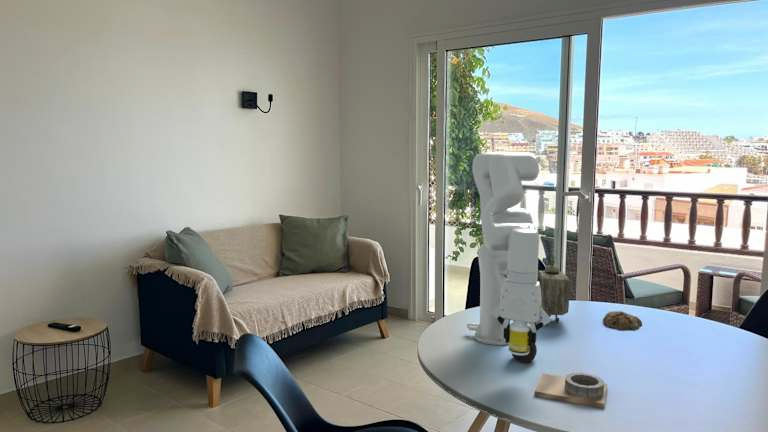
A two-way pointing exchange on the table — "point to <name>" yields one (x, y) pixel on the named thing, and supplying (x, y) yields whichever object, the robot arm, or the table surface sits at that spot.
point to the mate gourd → (527, 357)
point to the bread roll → (622, 321)
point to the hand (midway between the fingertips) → (519, 342)
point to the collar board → (561, 394)
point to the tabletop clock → (554, 290)
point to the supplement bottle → (519, 338)
